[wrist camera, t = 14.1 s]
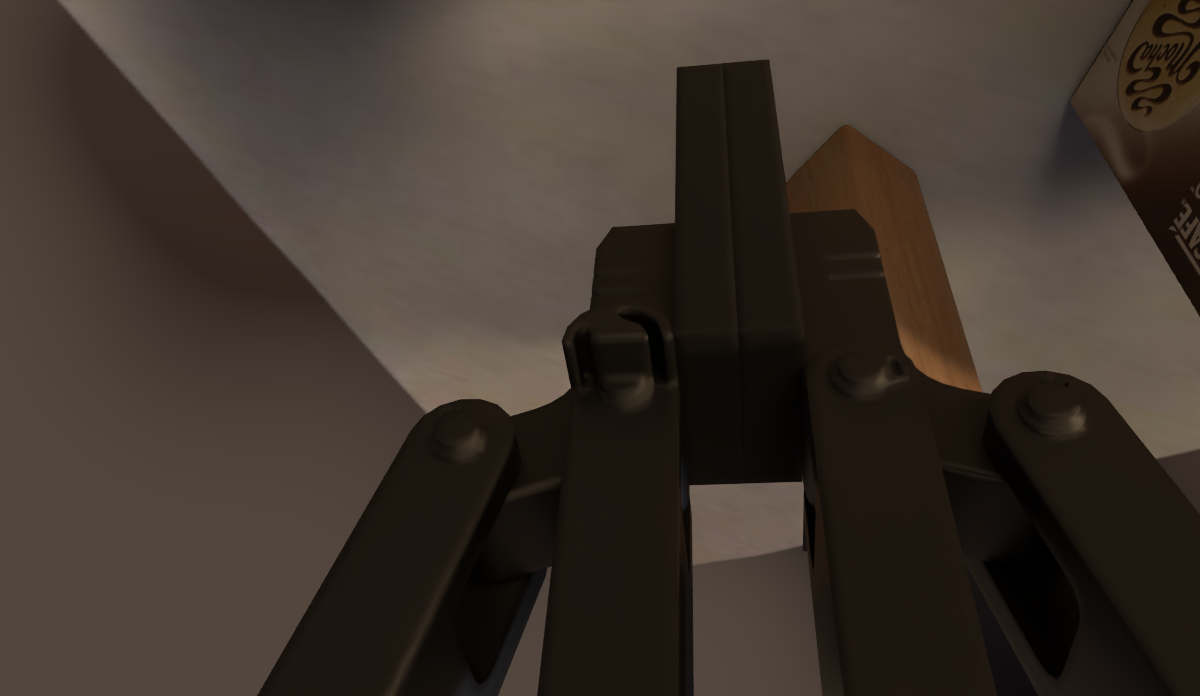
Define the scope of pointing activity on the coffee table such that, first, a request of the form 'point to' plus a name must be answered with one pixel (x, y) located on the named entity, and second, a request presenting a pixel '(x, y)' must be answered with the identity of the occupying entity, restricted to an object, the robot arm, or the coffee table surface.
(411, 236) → the coffee table surface
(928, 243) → the wooden block
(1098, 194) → the coffee table surface
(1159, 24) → the coffee box
